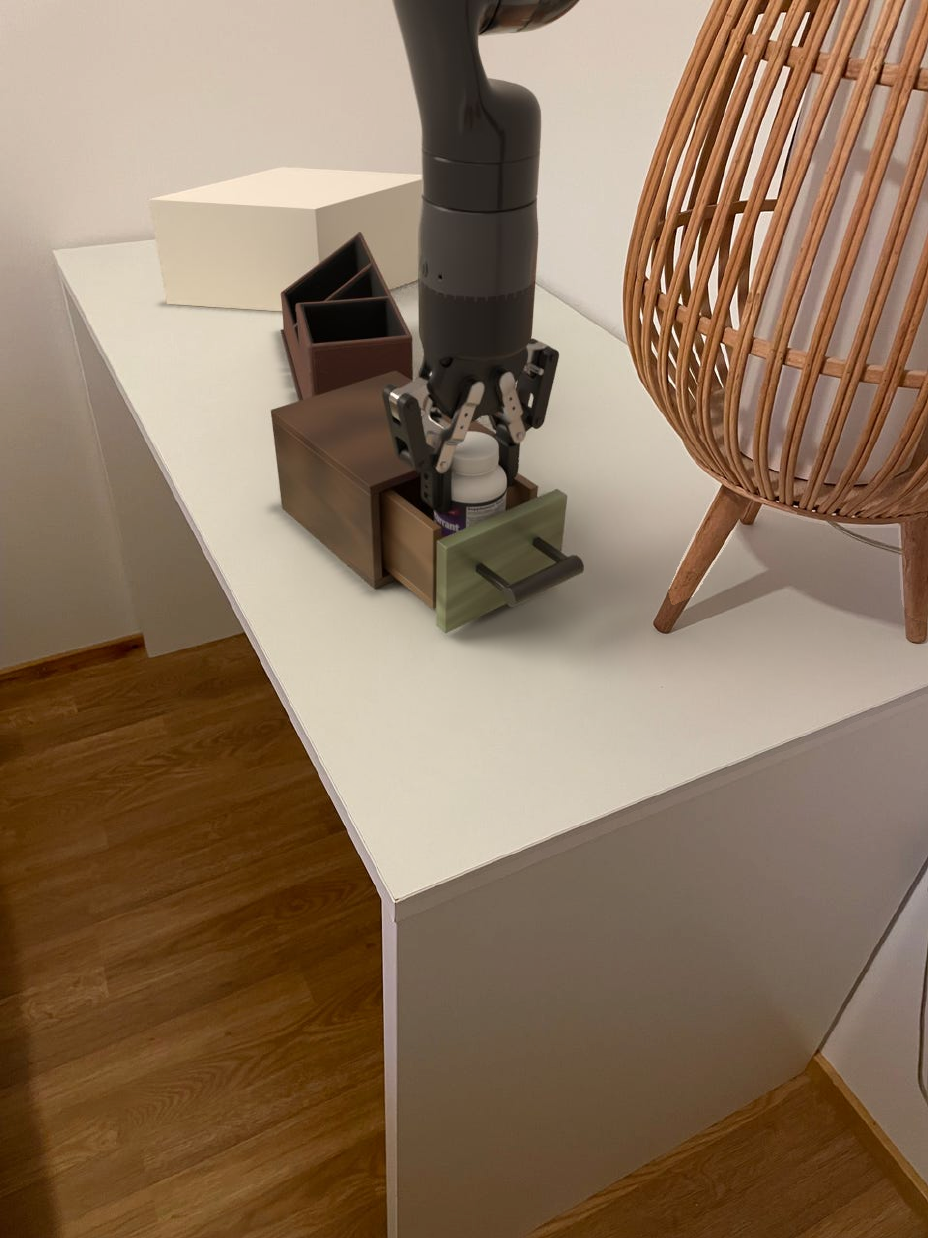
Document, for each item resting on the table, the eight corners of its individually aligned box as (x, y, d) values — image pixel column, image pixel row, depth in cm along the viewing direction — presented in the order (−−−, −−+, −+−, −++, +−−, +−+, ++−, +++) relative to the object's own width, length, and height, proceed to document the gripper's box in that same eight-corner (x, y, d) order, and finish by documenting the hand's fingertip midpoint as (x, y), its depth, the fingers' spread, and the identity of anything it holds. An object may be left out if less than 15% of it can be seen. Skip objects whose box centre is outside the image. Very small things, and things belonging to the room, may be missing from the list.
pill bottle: (423, 543, 77) (422, 434, 71) (484, 528, 79) (488, 420, 73) (451, 581, 73) (452, 470, 67) (515, 564, 75) (522, 454, 69)
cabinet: (496, 535, 84) (501, 436, 77) (374, 589, 77) (369, 486, 71) (398, 464, 92) (395, 369, 86) (281, 507, 86) (270, 409, 80)
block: (158, 278, 126) (140, 177, 119) (414, 251, 136) (413, 156, 128) (176, 331, 114) (157, 223, 106) (457, 297, 124) (459, 195, 116)
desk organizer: (312, 459, 93) (302, 347, 85) (280, 333, 114) (270, 235, 107) (420, 448, 95) (420, 337, 87) (368, 326, 116) (364, 229, 109)
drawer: (600, 608, 75) (613, 524, 70) (486, 669, 69) (490, 582, 64) (455, 503, 86) (456, 423, 81) (346, 548, 80) (340, 466, 75)
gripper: (420, 314, 56) (422, 553, 67) (599, 263, 63) (575, 486, 74) (349, 275, 61) (362, 504, 71) (523, 231, 68) (511, 446, 78)
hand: (470, 494), depth 73 cm, fingers closed on pill bottle, 5 cm apart
